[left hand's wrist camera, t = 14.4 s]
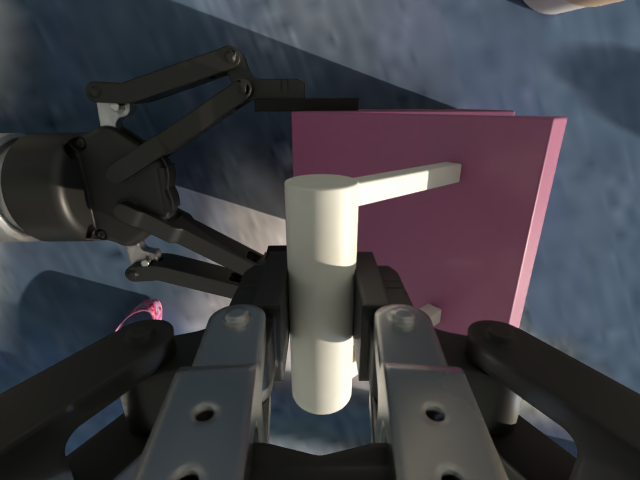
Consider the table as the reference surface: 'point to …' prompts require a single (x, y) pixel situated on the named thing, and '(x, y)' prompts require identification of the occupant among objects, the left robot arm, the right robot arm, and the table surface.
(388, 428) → the left robot arm
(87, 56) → the table surface
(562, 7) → the coffee cup
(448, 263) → the lid
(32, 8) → the table surface
